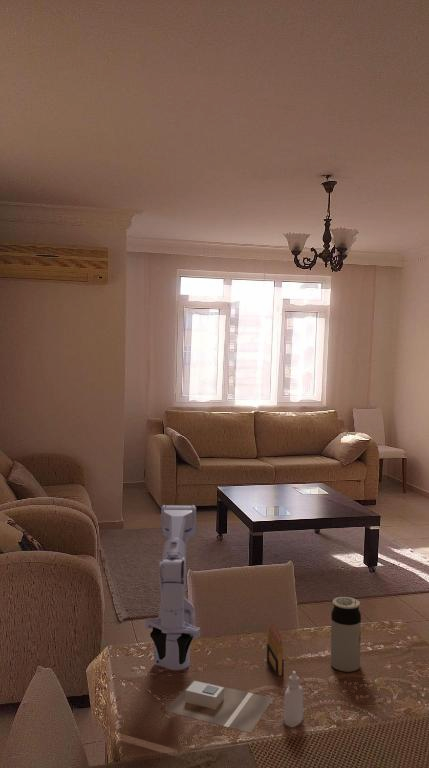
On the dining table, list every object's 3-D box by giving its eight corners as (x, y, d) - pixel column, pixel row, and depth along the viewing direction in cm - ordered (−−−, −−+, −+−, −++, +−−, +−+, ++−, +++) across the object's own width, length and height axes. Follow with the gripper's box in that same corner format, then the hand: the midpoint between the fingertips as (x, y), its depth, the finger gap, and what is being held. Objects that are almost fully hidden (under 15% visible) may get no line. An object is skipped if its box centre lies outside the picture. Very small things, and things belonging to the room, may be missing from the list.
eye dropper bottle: (278, 719, 156) (279, 670, 155) (298, 714, 158) (299, 665, 158) (288, 729, 152) (288, 678, 151) (308, 723, 154) (309, 673, 154)
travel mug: (327, 669, 180) (328, 604, 179) (333, 656, 188) (334, 594, 187) (357, 675, 177) (358, 609, 176) (362, 661, 185) (363, 598, 184)
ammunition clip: (283, 678, 175) (284, 634, 174) (277, 679, 175) (277, 635, 174) (273, 660, 186) (273, 618, 185) (266, 660, 185) (267, 618, 185)
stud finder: (185, 702, 162) (185, 689, 161) (194, 692, 166) (194, 680, 166) (215, 709, 158) (215, 696, 158) (223, 699, 163) (223, 686, 163)
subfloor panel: (164, 714, 158) (164, 710, 158) (193, 683, 172) (193, 679, 172) (250, 737, 149) (250, 733, 149) (273, 702, 164) (273, 698, 164)
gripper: (138, 608, 164) (139, 661, 165) (191, 618, 158) (191, 673, 159) (152, 598, 170) (152, 649, 171) (203, 607, 164) (203, 660, 165)
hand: (172, 660), depth 165 cm, fingers open, 5 cm apart
